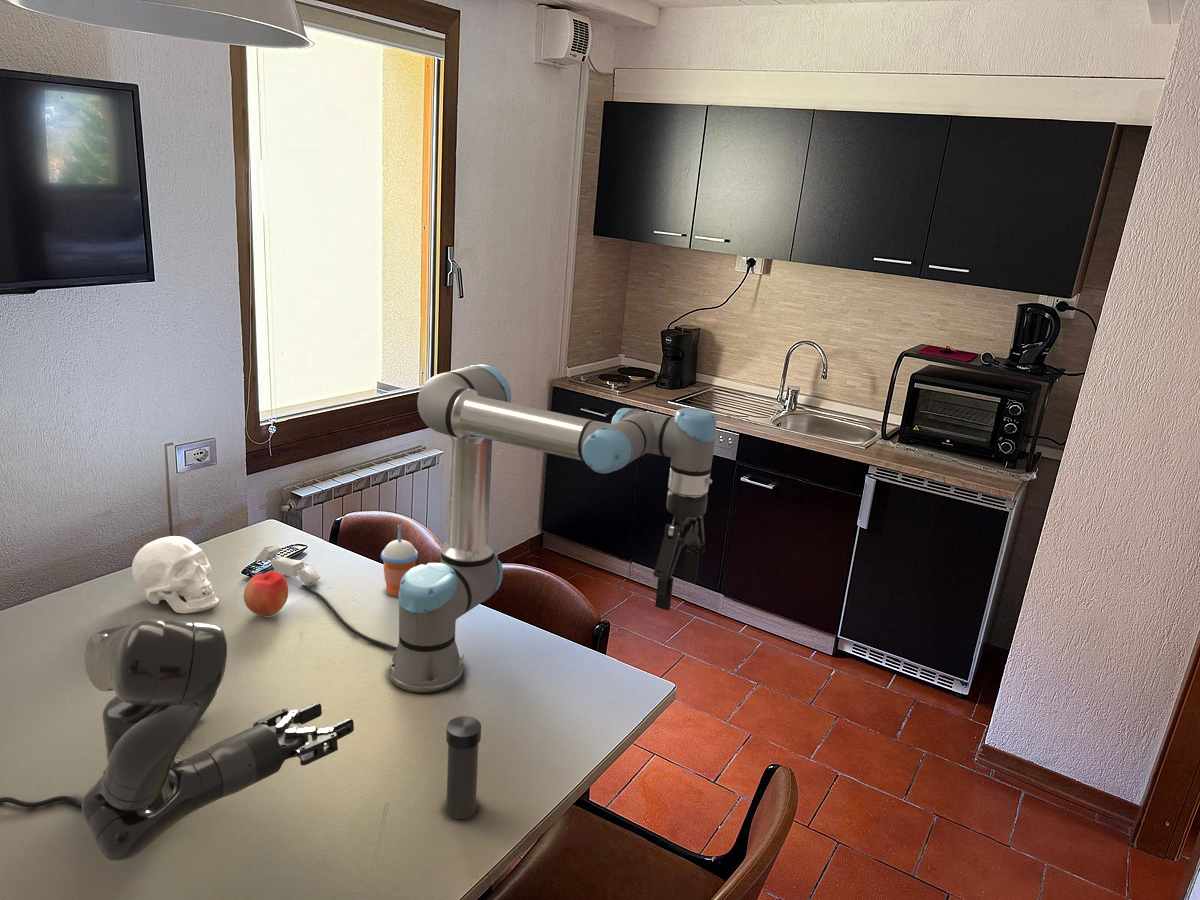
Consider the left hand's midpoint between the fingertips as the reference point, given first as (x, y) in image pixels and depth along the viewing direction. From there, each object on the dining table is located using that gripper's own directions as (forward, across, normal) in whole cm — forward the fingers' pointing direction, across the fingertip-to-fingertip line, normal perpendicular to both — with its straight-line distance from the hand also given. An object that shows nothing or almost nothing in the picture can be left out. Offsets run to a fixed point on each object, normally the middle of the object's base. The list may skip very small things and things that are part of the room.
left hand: (335, 716), depth 136 cm
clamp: (+43, +83, +6) cm, 93 cm away
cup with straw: (+58, +57, +9) cm, 82 cm away
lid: (+14, -14, +4) cm, 20 cm away
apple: (+28, +68, +8) cm, 74 cm away
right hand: (+60, -26, -8) cm, 66 cm away
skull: (+17, +87, +6) cm, 89 cm away
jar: (+15, -11, +20) cm, 27 cm away
